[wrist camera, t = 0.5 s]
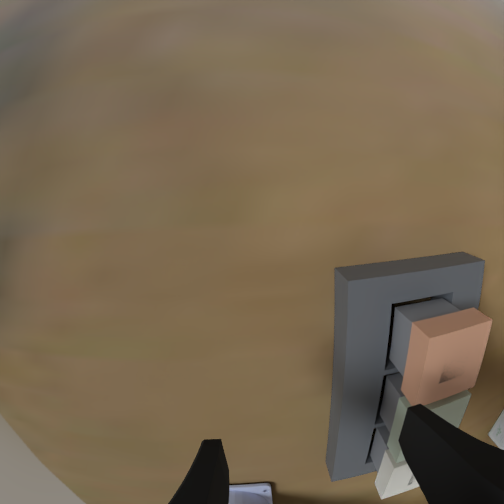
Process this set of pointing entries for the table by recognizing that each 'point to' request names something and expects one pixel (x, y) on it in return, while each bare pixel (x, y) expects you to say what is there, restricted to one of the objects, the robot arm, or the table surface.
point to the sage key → (397, 406)
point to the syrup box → (498, 431)
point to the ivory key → (389, 467)
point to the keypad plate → (380, 342)
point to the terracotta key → (437, 349)
